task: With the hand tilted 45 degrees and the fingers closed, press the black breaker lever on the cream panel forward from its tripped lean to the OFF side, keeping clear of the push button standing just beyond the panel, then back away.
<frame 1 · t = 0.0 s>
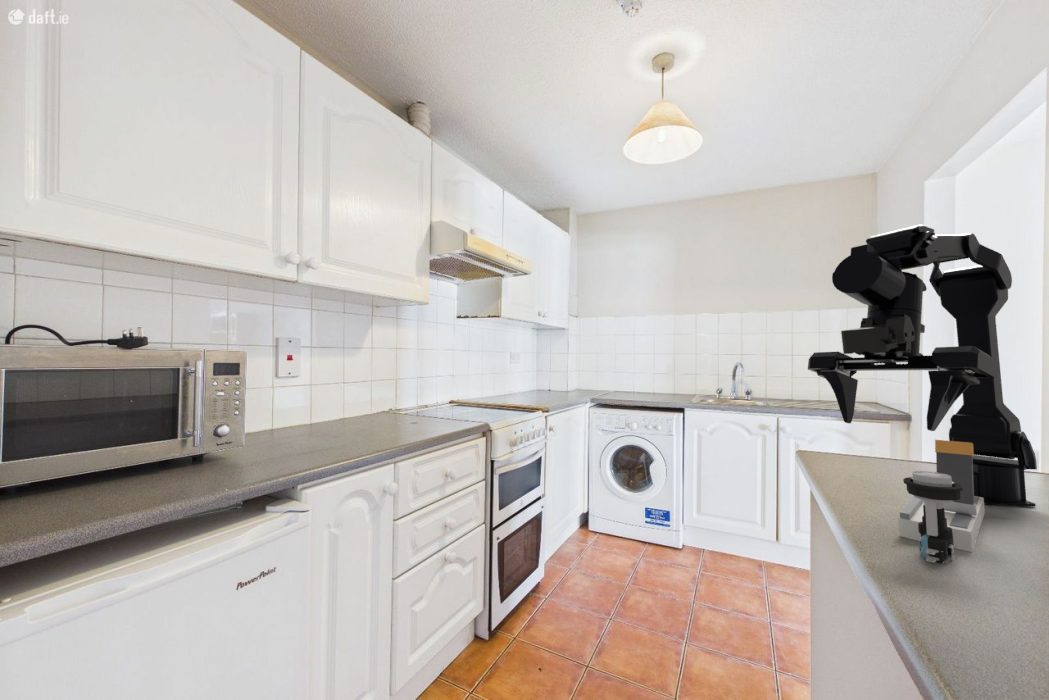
hand: (886, 426, 57), 15 cm above the countertop, tool pointing down, fingers open, 9 cm apart
lever: (954, 476, 61), point 7 cm above the countertop, hinge at -20.0°
panel: (944, 524, 63), on the countertop
push button: (935, 559, 52), on the countertop
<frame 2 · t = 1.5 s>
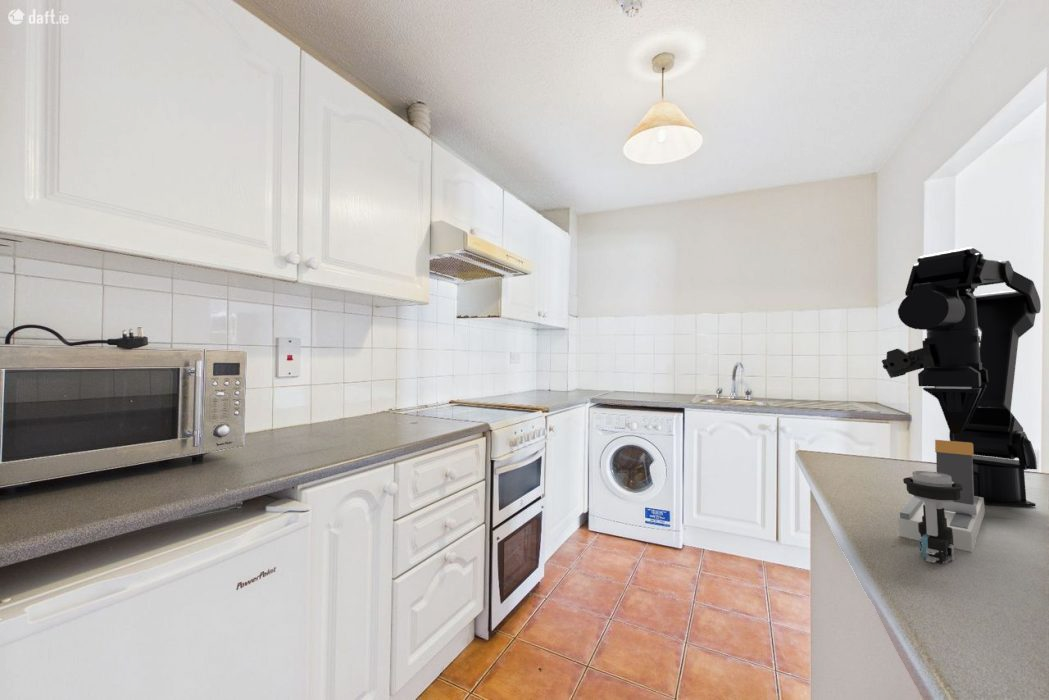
hand: (958, 431, 66), 13 cm above the countertop, tool pointing down, fingers open, 7 cm apart
nothing on the countertop moved.
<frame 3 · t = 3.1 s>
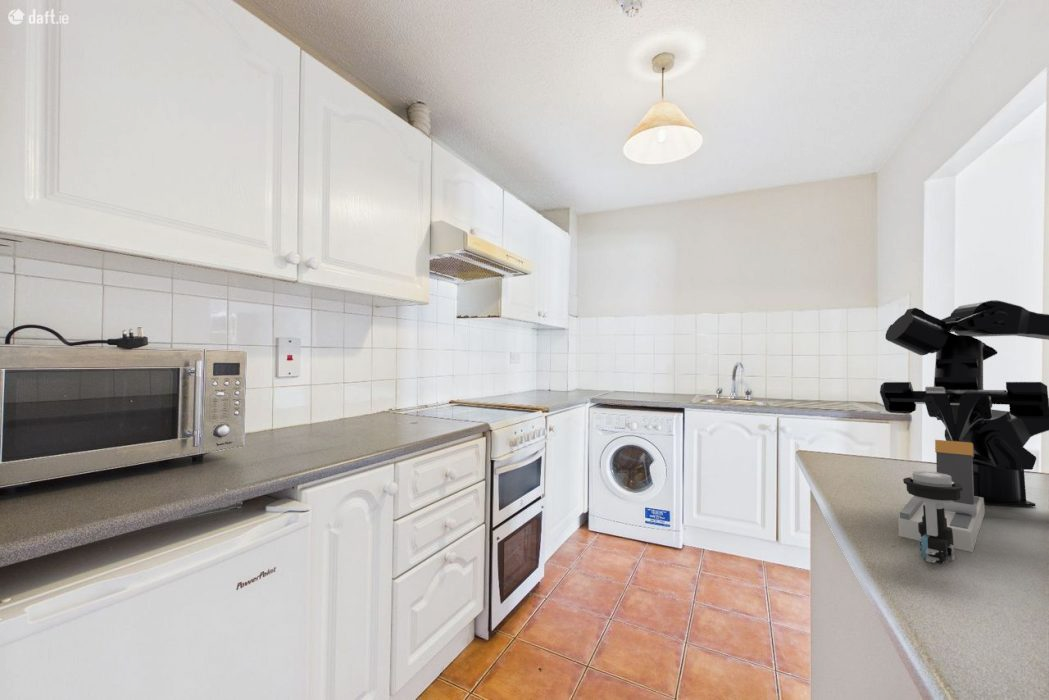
hand: (955, 440, 65), 12 cm above the countertop, tool tilted 45°, fingers closed
nothing on the countertop moved.
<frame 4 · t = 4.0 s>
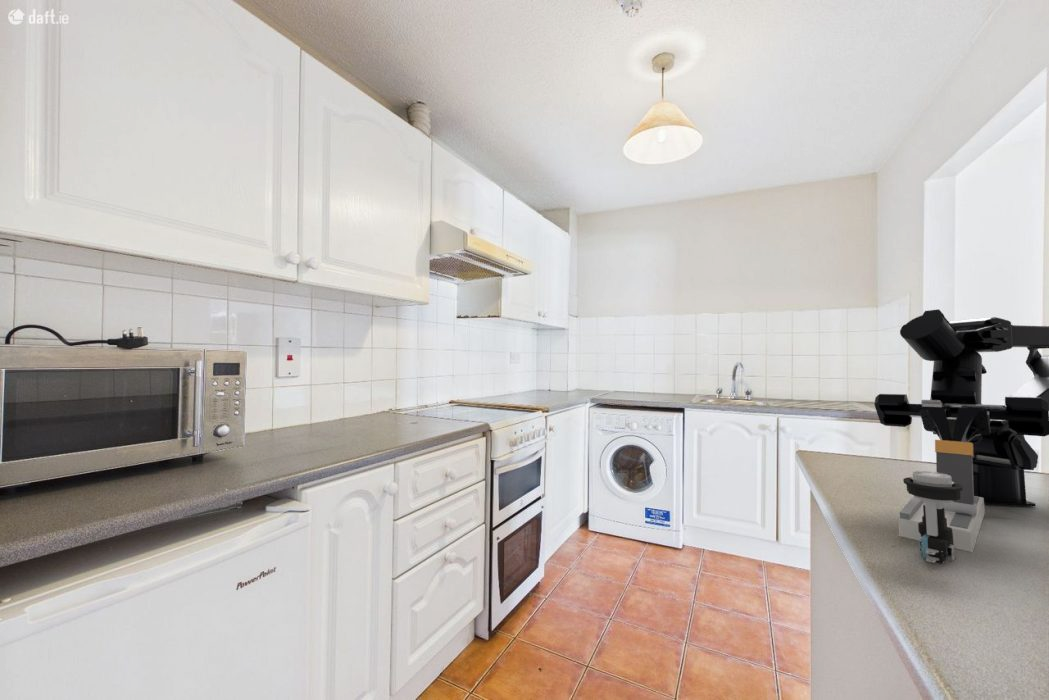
hand: (952, 457, 63), 10 cm above the countertop, tool tilted 45°, fingers closed, pressing on lever
lever: (954, 476, 61), point 7 cm above the countertop, hinge at -19.2°, touching gripper
everything else where it was.
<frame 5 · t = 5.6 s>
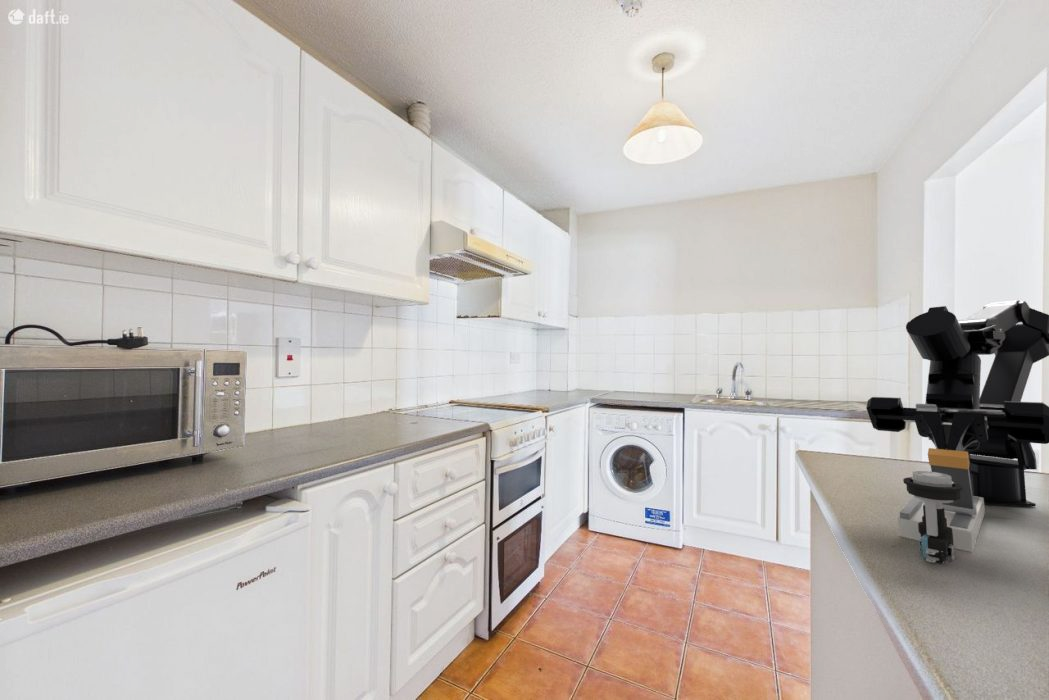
hand: (946, 465, 59), 10 cm above the countertop, tool tilted 45°, fingers closed, pressing on lever
lever: (951, 482, 59), point 7 cm above the countertop, hinge at 27.4°, touching gripper
everything else where it was.
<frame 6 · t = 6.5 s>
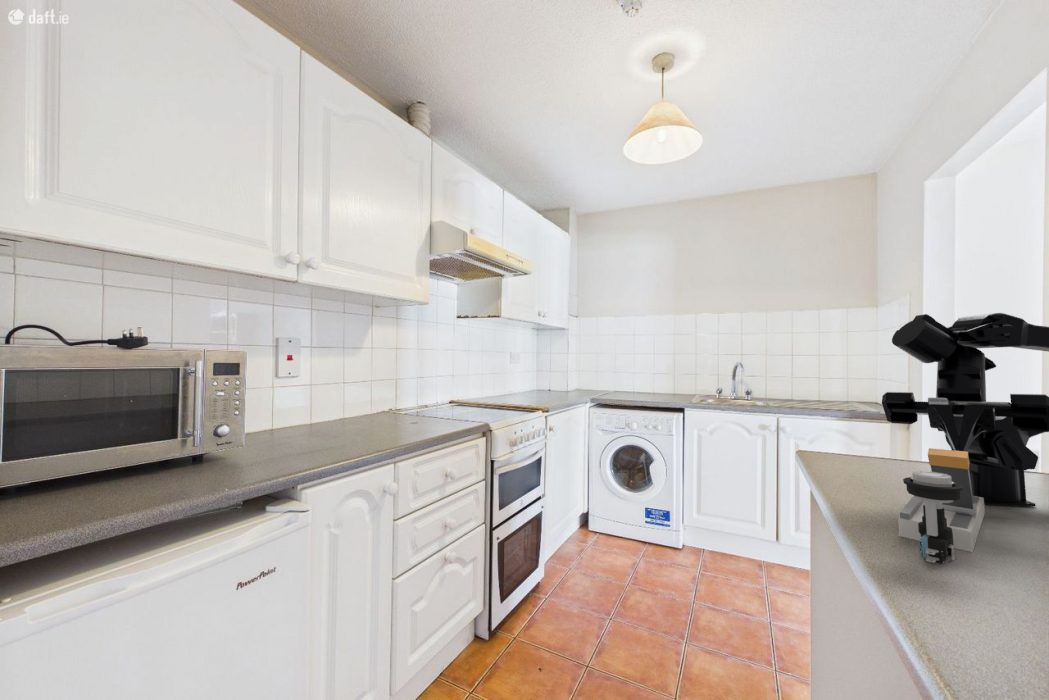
hand: (959, 453, 64), 10 cm above the countertop, tool tilted 45°, fingers closed
lever: (951, 482, 59), point 7 cm above the countertop, hinge at 27.4°
everything else where it was.
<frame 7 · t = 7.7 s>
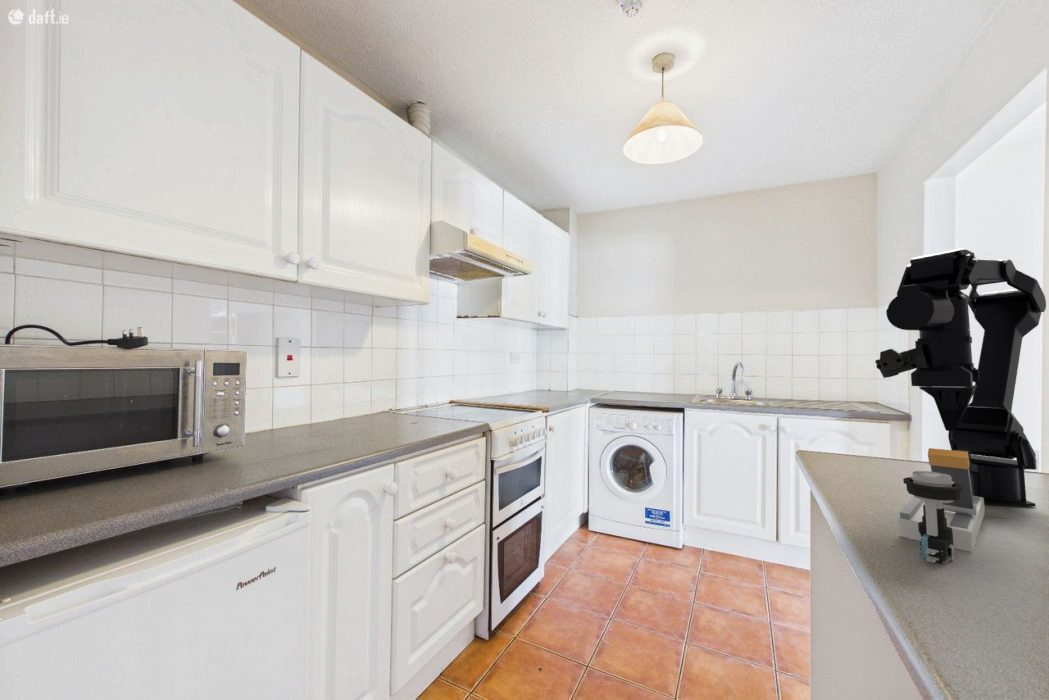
hand: (950, 430, 67), 13 cm above the countertop, tool pointing down, fingers closed
nothing on the countertop moved.
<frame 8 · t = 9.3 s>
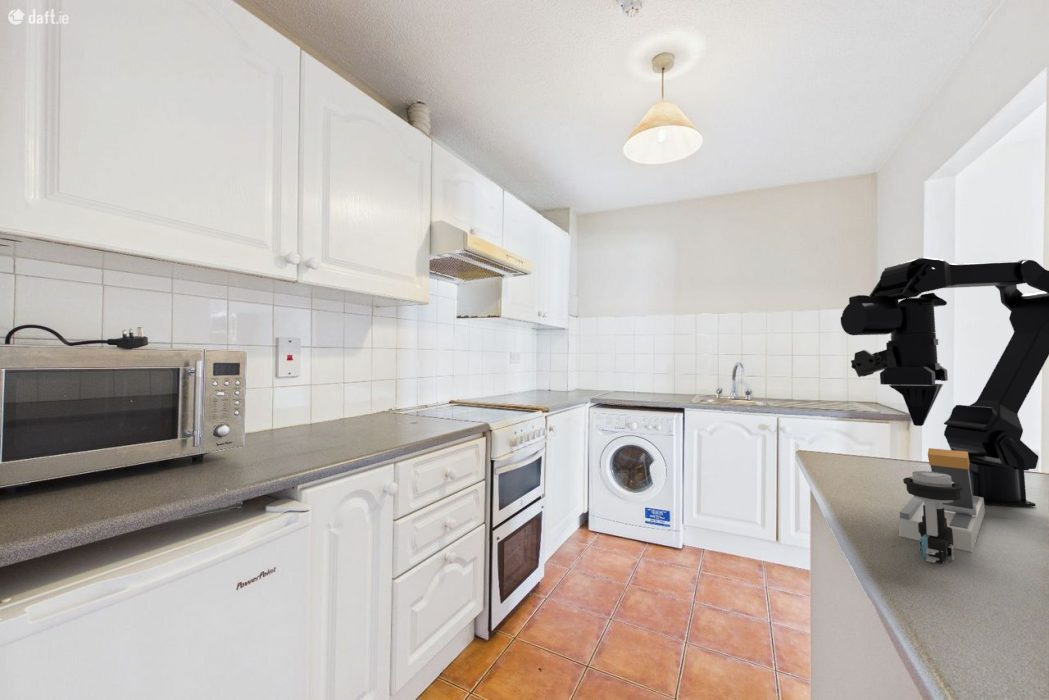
hand: (918, 425, 72), 13 cm above the countertop, tool pointing down, fingers closed
nothing on the countertop moved.
at the end: lever at +27° (first picture: -20°); push button moved 0.2 cm from its start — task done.
